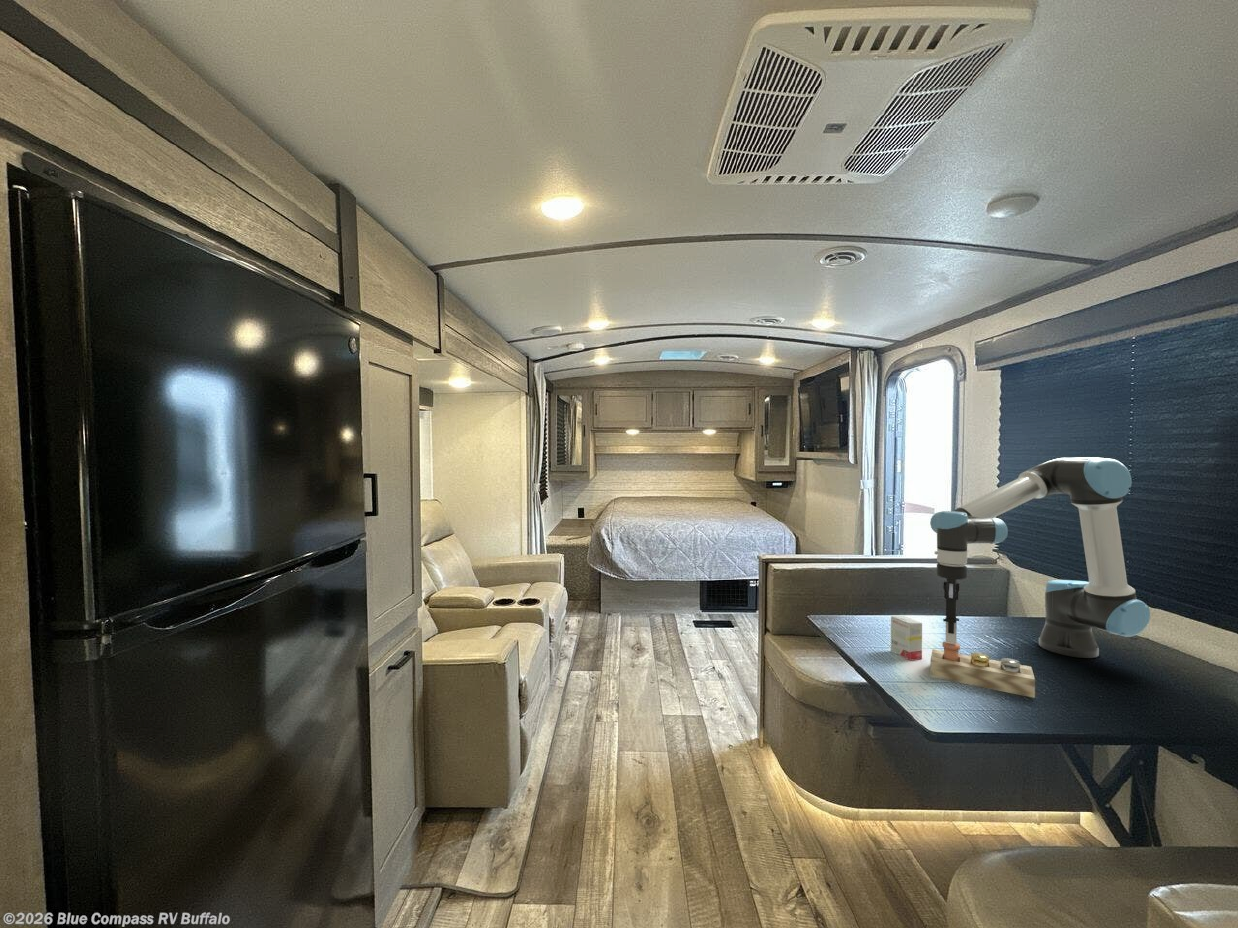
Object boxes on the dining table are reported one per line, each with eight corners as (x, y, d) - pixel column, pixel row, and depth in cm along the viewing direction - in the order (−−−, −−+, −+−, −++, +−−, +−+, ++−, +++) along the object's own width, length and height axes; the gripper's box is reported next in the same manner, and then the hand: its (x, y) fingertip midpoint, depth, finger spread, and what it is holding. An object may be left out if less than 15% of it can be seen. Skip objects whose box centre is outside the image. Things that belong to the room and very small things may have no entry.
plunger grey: (1019, 682, 146) (1019, 660, 146) (1020, 688, 142) (1021, 665, 142) (1000, 679, 148) (1000, 656, 148) (1001, 684, 145) (1001, 661, 145)
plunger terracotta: (960, 664, 154) (960, 643, 153) (959, 669, 150) (960, 647, 150) (942, 661, 156) (942, 640, 156) (942, 666, 152) (942, 644, 152)
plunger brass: (989, 677, 150) (989, 654, 150) (989, 682, 146) (989, 659, 146) (970, 673, 152) (970, 651, 152) (970, 678, 149) (970, 656, 148)
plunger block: (1031, 684, 147) (1031, 666, 146) (1034, 697, 138) (1035, 679, 138) (932, 665, 160) (932, 649, 160) (930, 676, 152) (930, 659, 152)
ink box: (923, 659, 165) (923, 622, 165) (910, 660, 164) (910, 623, 163) (902, 649, 173) (902, 614, 173) (890, 650, 172) (890, 615, 172)
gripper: (937, 558, 160) (937, 634, 160) (935, 566, 149) (934, 647, 150) (967, 561, 156) (966, 639, 156) (966, 569, 145) (966, 652, 145)
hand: (951, 643), depth 153 cm, fingers closed
